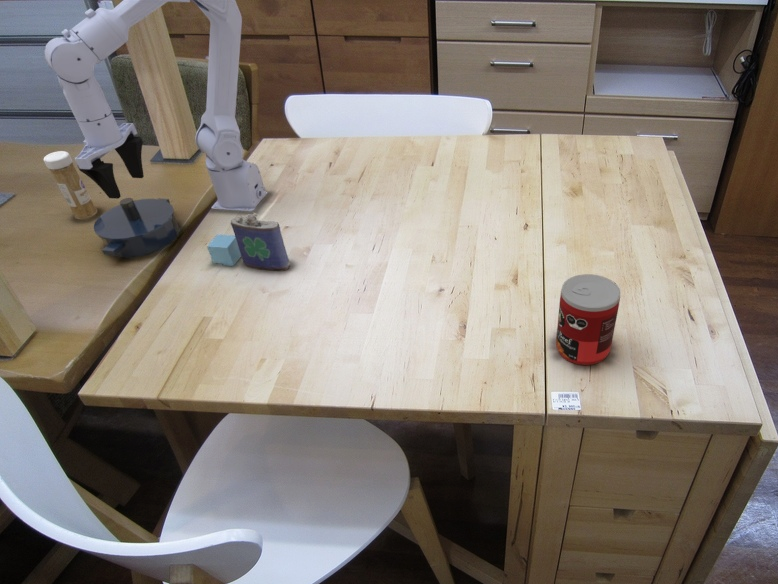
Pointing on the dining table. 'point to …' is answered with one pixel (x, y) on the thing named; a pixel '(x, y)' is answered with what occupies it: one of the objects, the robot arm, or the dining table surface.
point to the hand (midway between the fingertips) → (126, 187)
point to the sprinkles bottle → (70, 184)
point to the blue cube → (224, 250)
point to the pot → (143, 241)
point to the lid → (133, 219)
